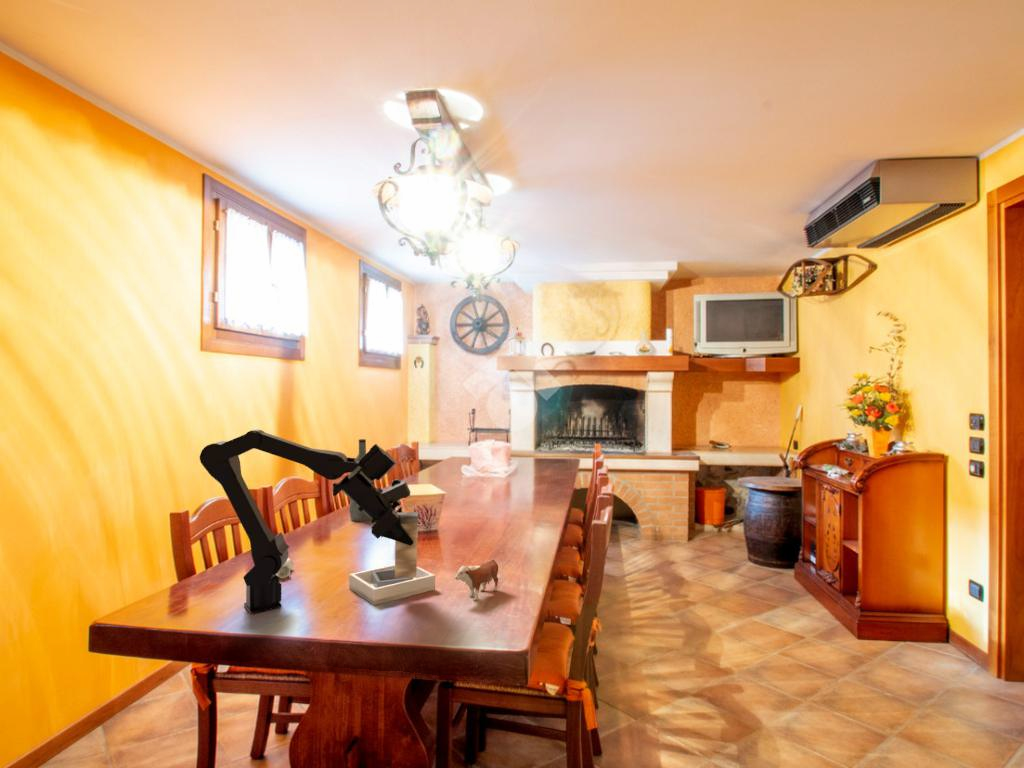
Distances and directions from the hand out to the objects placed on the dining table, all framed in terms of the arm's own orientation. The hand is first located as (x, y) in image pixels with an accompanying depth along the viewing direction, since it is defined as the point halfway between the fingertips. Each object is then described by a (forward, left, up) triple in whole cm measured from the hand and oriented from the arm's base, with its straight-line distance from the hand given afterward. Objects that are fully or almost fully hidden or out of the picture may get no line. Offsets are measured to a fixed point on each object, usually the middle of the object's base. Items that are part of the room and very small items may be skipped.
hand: (412, 541), depth 134 cm
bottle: (+25, +85, -14) cm, 89 cm away
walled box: (-1, +9, -13) cm, 16 cm away
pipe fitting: (-18, +38, -14) cm, 44 cm away
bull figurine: (+13, -8, -14) cm, 21 cm away
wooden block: (-1, +1, -8) cm, 8 cm away
